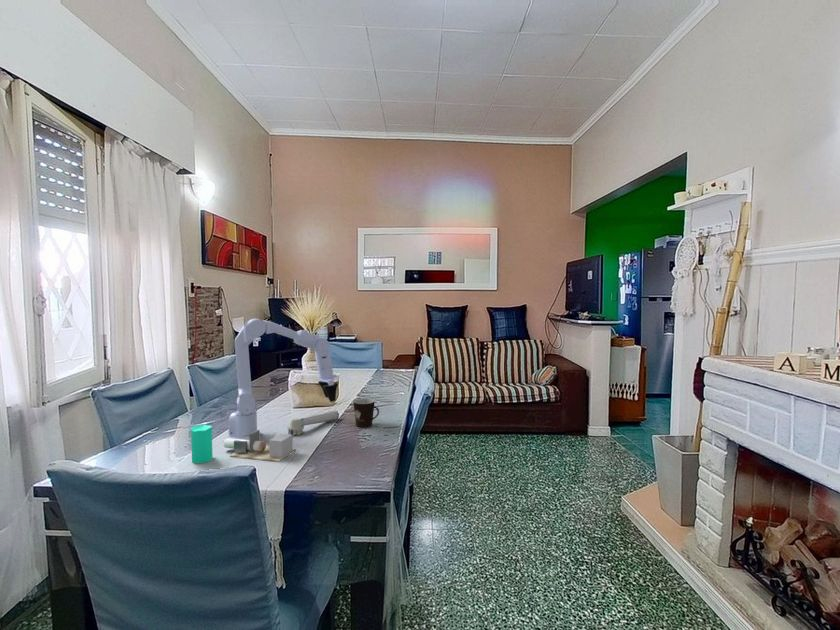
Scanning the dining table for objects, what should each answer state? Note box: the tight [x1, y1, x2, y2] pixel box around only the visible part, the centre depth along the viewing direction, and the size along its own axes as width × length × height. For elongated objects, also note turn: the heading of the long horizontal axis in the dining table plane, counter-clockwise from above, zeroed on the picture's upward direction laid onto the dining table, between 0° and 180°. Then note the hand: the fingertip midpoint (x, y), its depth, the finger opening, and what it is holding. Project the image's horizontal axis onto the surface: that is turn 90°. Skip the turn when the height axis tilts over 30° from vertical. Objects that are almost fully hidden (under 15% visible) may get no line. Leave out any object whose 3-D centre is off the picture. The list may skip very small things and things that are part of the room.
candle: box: [190, 422, 214, 464], centre depth 130 cm, size 6×6×12 cm
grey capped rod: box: [287, 410, 340, 436], centre depth 163 cm, size 5×7×25 cm
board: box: [229, 445, 297, 463], centre depth 136 cm, size 18×10×1 cm, turn 76°
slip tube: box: [223, 429, 267, 452], centre depth 137 cm, size 14×4×6 cm, turn 76°
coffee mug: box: [352, 397, 380, 429], centre depth 163 cm, size 12×9×10 cm
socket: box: [269, 433, 294, 458], centre depth 134 cm, size 4×6×6 cm
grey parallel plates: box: [233, 435, 249, 454], centre depth 137 cm, size 4×6×4 cm
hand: (330, 399), depth 165 cm, fingers open, 7 cm apart
